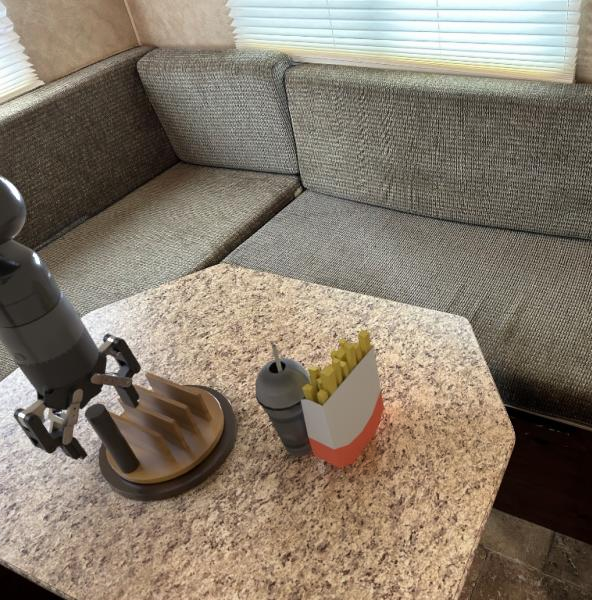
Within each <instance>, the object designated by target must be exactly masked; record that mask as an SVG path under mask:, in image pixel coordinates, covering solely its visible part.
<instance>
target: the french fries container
mask: <svg viewBox="0 0 592 600" xmlns="http://www.w3.org/2000/svg"><path fill="white" fill-rule="evenodd" d="M370 335H371V334H370V331H368V330H364V329H361V330H360V331H359V332H358V334H357V338H358V342H356V341H353V342H349V341H348V340H347V339H346V338H344V337H342V338H341V339H339V340H338V345H339V347H340V348H338V349H332V351H331V352H330V353H329V354H330V358H331V363H329V364H328V365H324V366H323V368H321V370H320V368H319V367H318V366H315V365H311V366H310V367H308V374H309V376H310V382H311V386H310V385H309V384H306V385H305V386H304V387H303V388H302V389H303V392H304V395H305V397H306V399H301V404H302V409H303V414H304V418H305V423H306V428H307V433H308V438H309V441H310V444H311V447H312V453H313V456H315V457H316V458H319V459H320V460H323V461H324V462H325V463H326V462H327V463H329V464H330V465H332V466H334V467H336V468H343V467H346V466H349V465H352V464H354V463H355V462H356V461H357V460H358V458H359V457H360V455H361V454H362V453H363V451H364V450H365V449H366V447H367V446H368V445H369V443H370V442H371V440H372V439H373V438H374V437H375V435H376V434H377V431H378V428H379V425H380V421H381V419H382V416H383V413H384V410H385V406H384V401H383V395H382V388H381V382H380V376H379V368H378V363H377V358H376V357H377V356H376V353H375V346H374V345H373V344H371V336H370Z"/></svg>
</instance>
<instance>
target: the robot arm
mask: <svg viewBox="0 0 592 600" xmlns="http://www.w3.org/2000/svg"><path fill="white" fill-rule="evenodd" d="M26 219H27V206H26V202H25V199H24V197H23V195H22V193H21V192H20V190H19V189H18V188H17V186H15V185H14V184H13V183H12V182H11V181H10V180H9V179H8V178H6V177H5V176H3V175H1V174H0V344H1V345H2V346H3V347H4V349H5V350H6V351H7V353H8V354H9V355H10V357H11V359H12V360H13V361H14V362H15V364H16V365H17V367H18V368H19V369H20V371H21V372H22V373H23V375H24V377H26V379H27V380H28V381H29V383H30V385H31V386H32V387H33V388H34V390H35V392H36V400H35V401H34V402H33V403H32V404H30V405H29V406H28V407H26V409H24V408H23V407H19V408H17V409H15V411H14V413H13V417H14V419H15V421H16V422H17V424H18V425H19V426H20V428H21V430H23V432H24V434H25V435H26V436H27V438H28V439H29V442H31V444H32V445H33V446H34V447H35V448H37V449H40V450H41V451H44V452H45V453H47V454H49V455H51V454H54V453H55V452H56V451H57V449H58V448H60V449H61V451H62V452H63V454H64V455H65V456H67V457H69V458H71V459H73V460H75V461H78V460H79V459H80V460H81V461H83V460H85V459H86V458H87V457H88V456H89V455H88V452H87V451H86V450H85V448H84V447H83V446H82V445H81V443H80V442H79V440H78V439H77V438H76V437H75V436H74V431H75V430H74V429H75V425H77V424H78V422H79V417H80V415H79V414H80V410H84V409H85V408H86V406H88V404H89V403H90V401H91V400H92V399H94V398H96V397H97V396H98V395H100V393H102V392H103V387H104V386H111V387H113V388H114V390H115V392H116V393H117V394H118V396H119V398H121V400H122V401H123V403H124V404H125V405H127V406H129V407H132V408H134V409H135V408H136V407H137V406H138V405H139V403H138V401H139V395H138V393H137V391H136V389H135V388H134V386H133V385H134V384H133V377H134V376H135V375H138V374H139V373H140V372H141V370H142V365H141V364H140V363H139V361H138V359H137V357H136V356H135V355H134V353H133V352H132V349H131V348H130V346H129V344H128V343H127V341H126V340H125V339H124V338H121V337H120V336H116V335H113V334H111V333H106V334H104V336H103V338H102V342H103V343H102V344H101V345H100V346H99V347H98V346H97V344H96V343H95V340H94V339H93V337H92V335H91V334H90V332H89V330H88V329H87V327H86V324H84V322H83V320H82V319H81V315H80V313H79V312H78V310H76V308H75V307H74V305H73V303H72V302H71V301H70V300H69V299H68V297H67V296H66V295H65V293H64V292H63V291H62V290H61V288H60V287H59V285H58V283H57V281H56V280H55V278H54V276H53V274H52V273H51V271H50V270H49V268H48V265H46V263H45V262H44V260H43V258H42V257H41V256H40V255H39V254H38V252H36V251H35V250H34V249H32V248H30V247H28V246H27V245H24V244H22V243H20V242H18V241H16V240H14V238H15V237H16V236H17V235H19V233H20V232H21V231H22V229H23V227H24V225H25V224H26ZM108 356H110V357H112V358H114V360H115V362H116V363H117V366H119V368H118V370H117V372H115V371H110V370H107V363H108ZM46 409H48V414H47V415H48V419H49V421H50V422H49V423H50V424H49V431H48V429H47V427H46V426H45V425H44V423H46V418H45V411H46ZM64 411H66V412H64Z"/></svg>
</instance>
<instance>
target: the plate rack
mask: <svg viewBox="0 0 592 600" xmlns="http://www.w3.org/2000/svg"><path fill="white" fill-rule="evenodd" d="M144 376H145V378H146V380H147V382H148V384H149V385H150V387H151V389H152V390H150V389H148V388H145V387H142V386H140V385H138V384H135V383H134V384H133V386H134V388H135V389H136V391H137V393H138V395H139V400H138V403H139V405H138V406H137V407H136V408H135V409H134V408H132V407H129V406H127V405H125V404H124V403H123V401H122V400H121V398H120V397H119V398H118V399H117V401H118V403H119V404H120V406H121V408H122V409H123V412H124V411H125V412H124V414H123V415H122V416H120V415H119V414H117V413H114V412H112V411H110V410H108V408H107V407H106V405H105V404H104V403H101V402H100V403H93V404H91V405H89V406H88V407H87V408H86V409H85V411H84V418H85V419H86V420H87V422H88V424H89V425H90V427H91V428H92V429H93V431H94V432H95V434H96V435H97V437H98V438H99V440H100V441H101V443H103V444H104V446H105V447H106V454H107V459H108V461H109V464H110V465H111V467H112V468H113V469H114V471H115V472H116V473H117V474H118V475H119V476H121V477H122V478H124V479H126V480H129V481H131V482H136V483H144V484H146V483H158V482H163V481H167V480H170V479H173V478H175V477H178V476H180V475H182V474H184V473H186V472H187V471H189V470H191V469H192V468H194V467H195V466H197V465H198V464H199V463H200V462H202V461H203V460H204V459H205V458H206V457H207V456H208V455H209V454H210V453H211V451H212V450H213V449H214V447H215V446H216V444H217V442H218V441H219V439H220V436H221V434H222V431H223V426H224V415H223V411H222V409H221V406H220V404H219V402H218V401H217V399H216V398H215V397H214V396H213V395H211V394H210V393H209V392H207V391H205V390H202V389H199V388H195V387H184V386H182V385H183V384H180V383H177V382H174V381H172V380H170V379H166V378H164V377H161V376H160V375H157V374H154V373H152V372H149V371H147V372H146V373H145V374H144Z"/></svg>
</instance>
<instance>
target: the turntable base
mask: <svg viewBox="0 0 592 600" xmlns="http://www.w3.org/2000/svg"><path fill="white" fill-rule="evenodd" d="M181 385H182V386H184V387H195V388H199V389H202V390H205V391H207V392H209V393H210V394H211V395H213V396H214V397H215V398H216V399H217V401H218V402H219V404H220V406H221V409H222V411H223V415H224V426H223V431H222V434H221V436H220V439H219V441H218V442H217V444H216V446H215V447H214V449H213V450H212V451H211V453H210V454H209V455H208V456H207V457H206V458H205V459H204V460H203V461H202V462H200V463H199V464H198V465H197V466H195V467H194V468H192V469H191V470H189V471H187V472H186V473H184V474H182V475H180V476H178V477H175V478H173V479H170V480H167V481H163V482H158V483H146V484H144V483H136V482H131V481H129V480H126V479H124V478H122V477H121V476H119V475H118V474H117V473H116V472H115V471H114V469H113V468H112V467H111V465H110V464H109V461H108V459H107V454H106V447H105V446H104V444H103V443H102V442H101V443H100V447H99V450H98V467H99V471H100V474H101V475H102V477H103V479H104V481H105V482H106V483H107V485H108V486H109V487H110V488H111V490H113V491H114V492H115V494H117V495H119V496H121V497H123V498H126V499H129V500H132V501H137V502H157V501H163V500H168V499H171V498H175V497H178V496H180V495H182V494H185V493H187V492H190V491H191V490H193V489H195V488H196V487H198V486H200V485H202V484H203V483H204V482H205V481H207V480H208V479H210V478H211V477H212V476H213V475H214V474H215V473H216V472H217V471H218V470H219V469H220V468H221V467H222V465H223V464H224V463H225V462H226V461H227V459H228V458H229V456H230V454H231V452H232V450H233V449H234V446H235V444H236V441H237V436H238V432H239V431H238V429H239V424H238V423H239V422H238V418H237V414H236V412H235V409H234V407H233V405H232V403H231V402H230V400H229V399H228V397H226V396H225V395H224V394H223V393H222V392H221V391H219V390H217V389H215V388H212V387H210V386H205V385H201V384H181ZM124 412H125V411H124V410H123V412H122V413H121V414H120V415H119V416H122V415H123V414H124Z"/></svg>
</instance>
